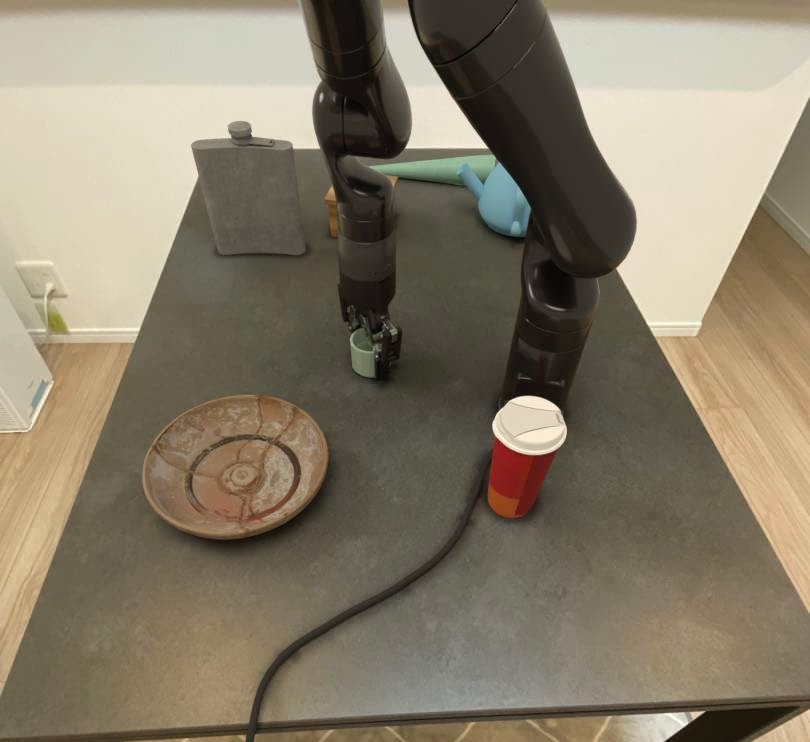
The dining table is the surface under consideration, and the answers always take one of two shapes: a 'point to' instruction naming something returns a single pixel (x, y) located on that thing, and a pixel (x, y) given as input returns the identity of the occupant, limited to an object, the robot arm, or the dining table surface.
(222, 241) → the hip flask
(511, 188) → the teapot
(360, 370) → the pale green cup
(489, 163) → the mint green cone
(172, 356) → the dining table surface
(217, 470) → the ceramic bowl
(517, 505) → the coffee cup
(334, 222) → the riser
